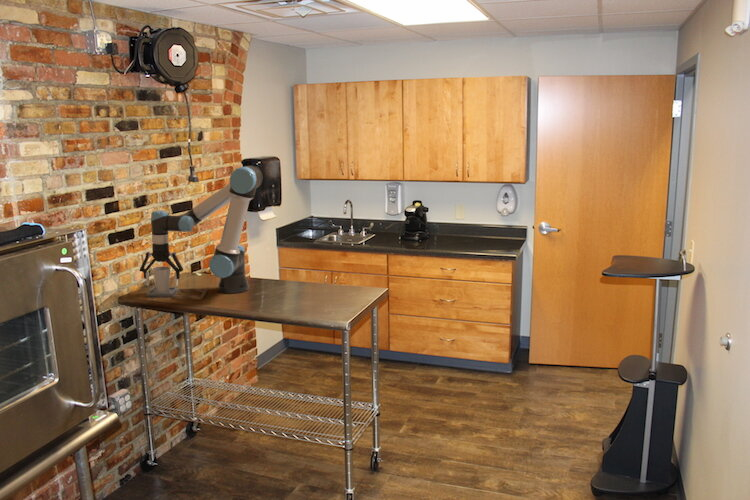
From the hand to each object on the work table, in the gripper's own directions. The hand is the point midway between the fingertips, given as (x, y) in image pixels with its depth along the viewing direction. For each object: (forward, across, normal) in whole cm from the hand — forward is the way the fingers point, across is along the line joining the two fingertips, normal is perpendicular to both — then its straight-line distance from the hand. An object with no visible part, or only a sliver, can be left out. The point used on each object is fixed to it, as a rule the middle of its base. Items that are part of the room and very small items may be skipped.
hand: (162, 285), depth 299 cm
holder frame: (+4, -14, +2) cm, 15 cm away
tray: (+4, 0, 0) cm, 4 cm away
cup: (+4, 0, 0) cm, 4 cm away
